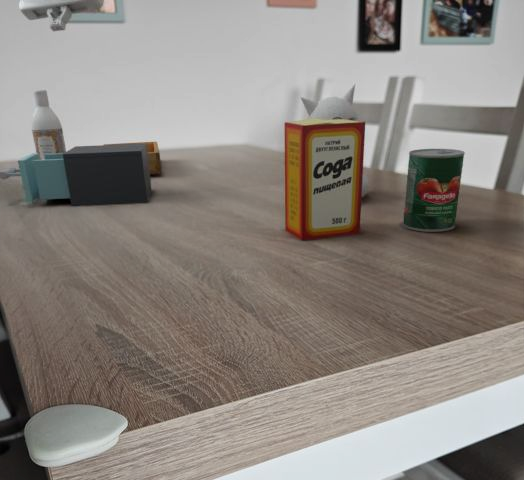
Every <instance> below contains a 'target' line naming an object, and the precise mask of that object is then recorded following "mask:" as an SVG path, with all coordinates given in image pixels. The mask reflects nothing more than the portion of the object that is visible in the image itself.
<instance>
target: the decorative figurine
mask: <svg viewBox="0 0 524 480" xmlns="http://www.w3.org/2000/svg"><path fill="white" fill-rule="evenodd" d="M355 89H356V83H354V84H353V85H352V86H351V88H350V89H349V90H348V91H347V92H346V93H345V94H344V95H343V96H342V97H338V96H327V97H325V98H323V99H321V100H319V101H318V102H317V101H314V100H311V99H308V98H305V97H301V96H300V100H301V101H302V104H303V106H304V108H305V110H306V113H307V115H308V116H307V119H314V118H317V119H321V120H335V119H346V120H354V121H359V119H358V114H357V112H356V109H355V108H354V106H353V103H354V95H355ZM307 119H306V120H307ZM370 185H371V184H370V179H369V177H368V176H367V175H366V173H364V172H363V178H362V197H361V199H362V198H364V197H365V196H366V194H368V192H369V190H370Z"/></svg>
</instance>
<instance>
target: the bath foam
mask: <svg viewBox="0 0 524 480" xmlns="http://www.w3.org/2000/svg"><path fill="white" fill-rule="evenodd" d="M33 96H34V102H35V110H34V112H33V114H32V118H31V124H30V125H31V132H32V138H33V143H34V147H35V148H34V149H35V153H39V155H40V160H45V156H44V154H57V153H65V152H67V149H66V141H65V136H64V131H63V126H62V123H61V120H60V119H59V117H58V115H57V114H56V113H55V111H54V110H53V109H52V108H51V107H50V103H49V102H50V101H49V96H48V91H47V90H46V89H34V90H33Z"/></svg>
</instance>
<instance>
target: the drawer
mask: <svg viewBox="0 0 524 480" xmlns="http://www.w3.org/2000/svg"><path fill="white" fill-rule="evenodd" d="M63 154H64V153H57V154H44V156H45V160H40V155H39V153H36V152H33V153H30V154H29V155H26V156H24V157H22V158H20V159H17V164H18V168H16V167H14V166H10V167H8V168H6V169H4V170H2V171H0V179H1V180H7V179H9V178H12V177H14V178H15V177H20V179H21V182H22V188H23V193H24V197H25V202H26V203H27V204H28V203H34V202H35V201H36V200H38V199H39V200H40V201H42V200H43V201H44V200H62V199H70V193H69V188H68V182H67V177H66V171H65V165H64V160H63Z"/></svg>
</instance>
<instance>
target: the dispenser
mask: <svg viewBox="0 0 524 480" xmlns="http://www.w3.org/2000/svg"><path fill="white" fill-rule="evenodd" d="M63 160H64V165H65V171H66V177H67V182H68V188H69V193H70V198H69V199H70V203H71V207H75V206H94V205H116V204H133V203H134V204H135V203H137V204H138V203H148V202H149V199H150V196H151V193H152V181H151V174H150V172H149V163H148V154H147V145H146V144H124V145H104V144H102V145H78V146H77V145H75V146H74V147H72V148H70V149H68V150H66V152H65V153H64V154H63Z"/></svg>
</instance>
